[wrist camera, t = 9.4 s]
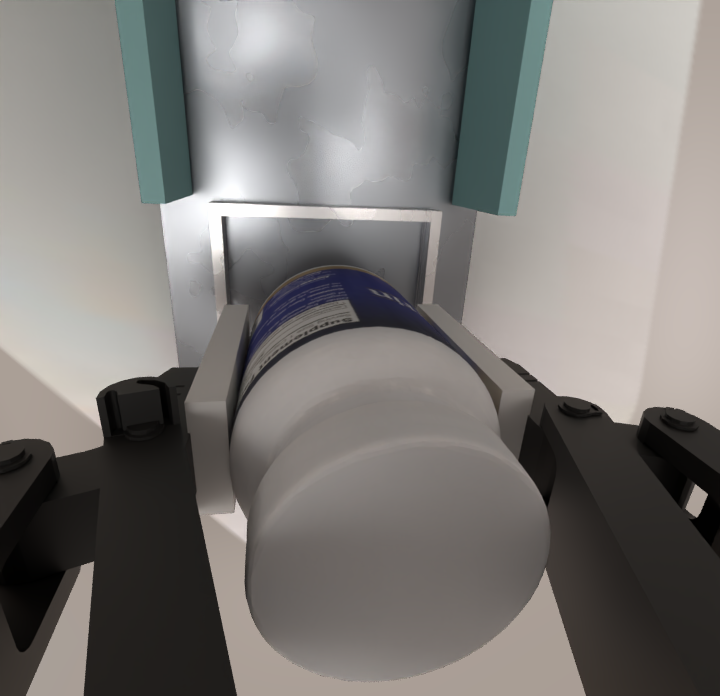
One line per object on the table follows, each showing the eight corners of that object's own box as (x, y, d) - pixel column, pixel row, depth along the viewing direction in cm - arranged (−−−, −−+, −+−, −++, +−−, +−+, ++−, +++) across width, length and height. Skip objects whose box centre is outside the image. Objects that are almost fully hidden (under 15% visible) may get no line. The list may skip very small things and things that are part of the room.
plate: (111, -300, 12) (77, -394, 10) (520, -214, 14) (560, -278, 12) (190, 408, 20) (181, 435, 18) (440, 398, 22) (456, 421, 20)
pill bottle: (440, 354, 16) (635, 583, 7) (316, 439, 17) (356, 751, 8) (354, 224, 14) (484, 322, 5) (214, 326, 15) (103, 581, 6)
